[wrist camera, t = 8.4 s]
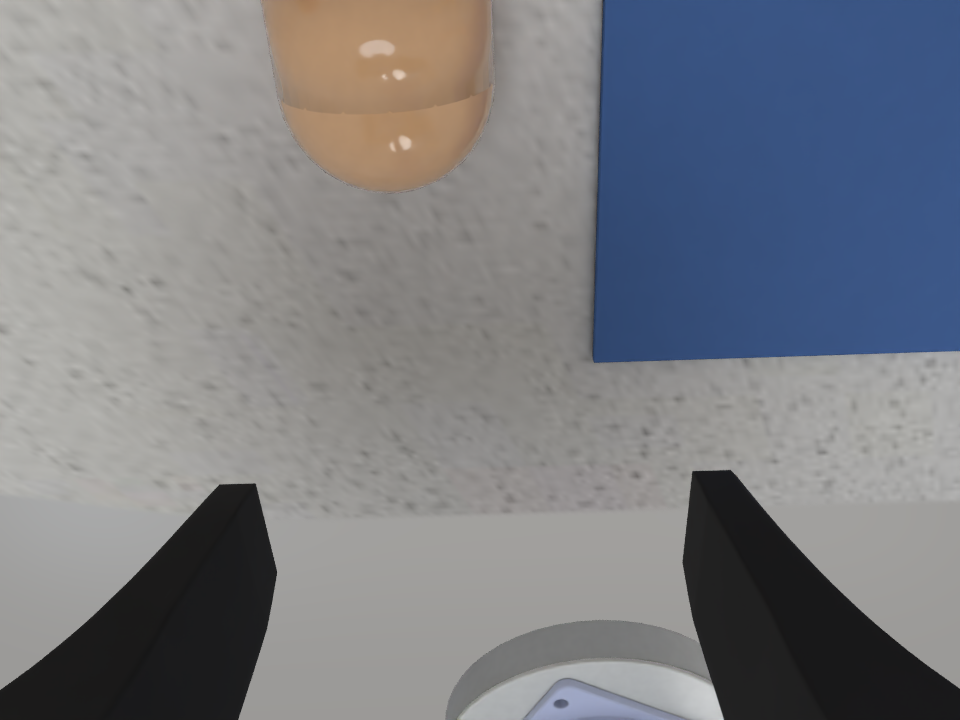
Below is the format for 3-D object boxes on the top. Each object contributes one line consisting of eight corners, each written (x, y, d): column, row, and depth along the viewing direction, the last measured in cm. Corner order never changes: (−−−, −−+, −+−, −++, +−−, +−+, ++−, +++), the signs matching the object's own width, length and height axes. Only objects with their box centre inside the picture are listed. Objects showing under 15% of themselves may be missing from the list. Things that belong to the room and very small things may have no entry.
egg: (464, 143, 21) (528, 205, 17) (283, 169, 20) (311, 242, 16) (446, -166, 17) (522, -169, 14) (226, -153, 16) (245, -153, 13)
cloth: (592, 357, 23) (593, 363, 23) (606, -155, 17) (608, -155, 17) (1192, 337, 23) (1201, 343, 22) (1444, -200, 16) (1459, -201, 16)
